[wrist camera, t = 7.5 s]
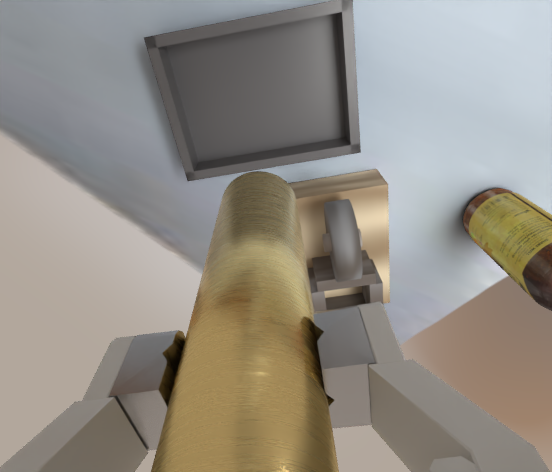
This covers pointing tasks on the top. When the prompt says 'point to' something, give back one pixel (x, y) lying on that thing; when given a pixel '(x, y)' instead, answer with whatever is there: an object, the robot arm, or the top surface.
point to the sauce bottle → (514, 239)
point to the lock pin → (251, 348)
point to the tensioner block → (345, 238)
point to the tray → (261, 89)
